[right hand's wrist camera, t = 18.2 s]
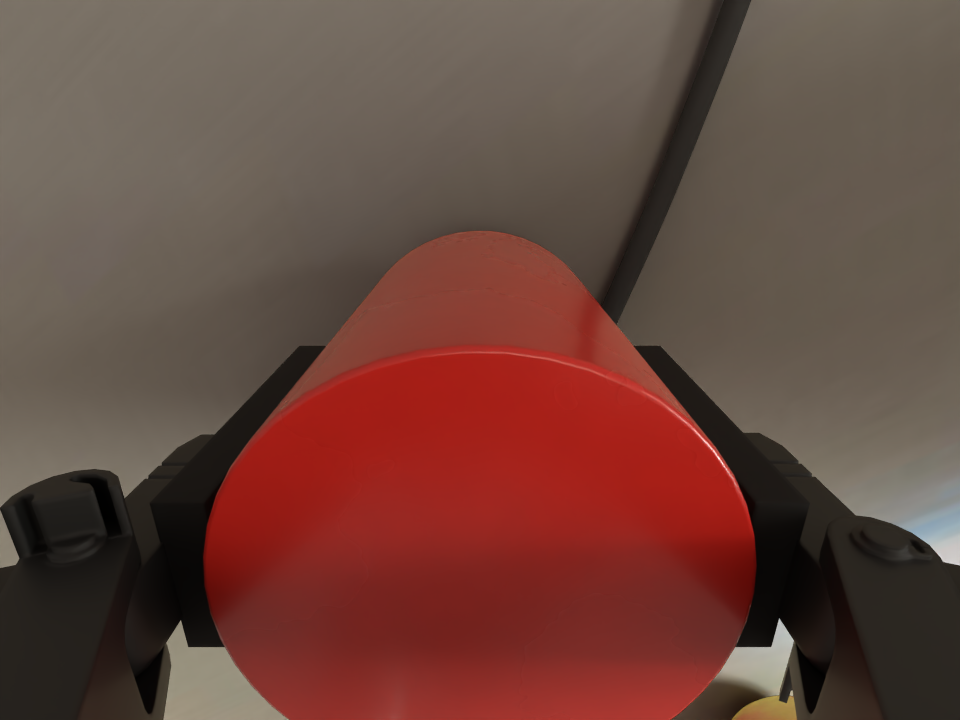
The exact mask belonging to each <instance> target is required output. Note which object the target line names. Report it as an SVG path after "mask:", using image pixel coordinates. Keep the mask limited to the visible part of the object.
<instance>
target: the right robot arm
mask: <svg viewBox="0 0 960 720" xmlns="http://www.w3.org/2000/svg"><path fill="white" fill-rule="evenodd" d="M750 2H751V0H724V1H723V4H722V7H721V9H720V12H719V15H718V18H717V21H716V24H715V26H714V29H713V32H712V35H711V37H710V40H709V43H708V46H707V48H706V51H705V54H704V57H703V59H702V62H701V65H700V67H699V70H698V73H697V75H696V78H695V81H694V83H693V86H692V89H691V91H690V94H689V96H688V99H687V102H686V104H685V107H684V110H683V112H682V115H681V117H680V120H679V123H678V125H677V128H676V130H675V133H674V136H673V138H672V141H671V144H670V146H669V149H668V151H667V154H666V156H665V159H664V162H663V164H662V167H661V169H660V172H659V174H658V177H657V179H656V182H655V184H654V187H653V189H652V192H651V194H650V197H649V199H648V201H647V204H646V206H645V209H644V211H643V213H642V216H641V218H640V221H639V223H638V225H637V228H636V230H635V232H634V235H633V237H632V239H631V242H630V244H629V246H628V248H627V251H626V253H625V255H624V258H623V260H622V262H621V264H620V267H619V269H618V271H617V273H616V276H615V278H614V280H613V282H612V285H611V287H610V289H609V291H608V294H607V296H606V298H605V300H604V303H603V305H602V308H603V310H604V311H605V312H606V313H607V314H608V316H609V317H610V318H611V319H612V321H613V322H614V323H615V324H617V322H618V320H619V318H620V315H621V313H622V311H623V309H624V307H625V305H626V302H627V300H628V298H629V296H630V294H631V292H632V289H633V287H634V285H635V283H636V281H637V279H638V276H639V274H640V272H641V270H642V268H643V266H644V263H645V261H646V259H647V257H648V255H649V252H650V250H651V248H652V246H653V243H654V241H655V239H656V237H657V235H658V232H659V230H660V228H661V225H662V223H663V221H664V219H665V216H666V214H667V212H668V209H669V207H670V205H671V202H672V200H673V198H674V195H675V193H676V190H677V188H678V186H679V183H680V181H681V178H682V176H683V174H684V171H685V169H686V166H687V164H688V161H689V159H690V156H691V154H692V151H693V149H694V146H695V144H696V141H697V139H698V136H699V134H700V131H701V129H702V126H703V124H704V121H705V119H706V116H707V114H708V111H709V109H710V106H711V104H712V101H713V99H714V96H715V94H716V91H717V89H718V86H719V84H720V81H721V78H722V76H723V73H724V71H725V68H726V66H727V63H728V61H729V58H730V55H731V53H732V50H733V47H734V45H735V42H736V40H737V37H738V34H739V32H740V29H741V26H742V24H743V21H744V18H745V15H746V13H747V10H748V7H749V4H750ZM325 347H326V346H299V347H298V348H297V349H296V350H295V351H294V352H293V353H292V354H291V356H290V357H289V358H288V359H287V360H286V361H285V362H284V363H283V364H282V365H281V366H280V367H279V368H278V369H277V370H276V371H275V372H274V373H273V374H272V375H271V376H270V377H269V379H268V380H267V381H266V382H265V383H264V384H263V385H262V386H261V387H260V388H259V389H258V390H257V391H256V392H255V393H254V394H253V395H252V396H251V397H250V398H249V399H248V401H247V402H246V403H245V404H244V405H243V406H242V407H241V408H240V409H239V410H238V411H237V412H236V413H235V414H234V415H233V416H232V417H231V418H230V419H229V420H228V421H227V423H226V424H225V425H224V426H223V427H222V428H221V429H220V430H219V431H218V432H217V433H216V434H215V435H200V436H198V437H196V438H194V439H192V440H191V441H189V442H187V443H185V444H183V445H182V446H180V447H178V448H177V449H176V450H175V451H174V452H173V453H172V454H171V455H169V456H168V457H167V458H166V459H165V460H164V461H163V462H162V466H158V467H157V468H156V469H155V470H154V471H153V472H152V473H151V474H150V475H149V477H148V479H144V480H143V481H142V482H141V483H140V484H139V485H138V486H137V487H136V488H135V489H134V490H133V491H132V492H131V493H130V494H129V495H128V496H127V497H126V498H125V499H124V495H123V492H122V489H121V485H120V482H119V478H118V476H116V475H115V474H113V473H112V472H110V471H105V470H97V469H91V470H81V471H73V472H69V473H65V474H61V475H57V476H53V477H51V478H48V479H45V480H43V481H40V482H38V483H35V484H33V485H30V486H29V487H27V488H25V489H24V490H22V491H20V492H19V493H17V494H15V495H13V496H12V497H11V498H10V499H9V500H8V501H7V502H5V503H4V504H3V505H2V506H1V507H0V510H1V513H2V515H3V518H4V520H5V523H6V525H7V528H8V530H9V533H10V535H11V538H12V540H13V543H14V546H15V548H16V551H17V553H18V556H19V558H20V559H19V561H18V563H17V564H16V565H14V566H9V567H4V568H0V720H163V718H164V711H165V704H166V698H167V691H168V684H169V677H170V670H171V661H170V654H169V651H168V647H167V644H166V642H167V640H168V639H169V637H170V636H171V634H172V633H173V631H174V630H175V628H176V627H177V625H178V623H179V622H180V620H181V622H182V625H183V629H184V633H185V636H186V640H187V644H188V647H225V646H224V645H223V643H222V641H221V639H220V637H219V634H218V631H217V629H216V626H215V624H214V621H213V619H212V616H211V614H210V609H209V604H208V600H207V595H206V591H205V586H204V565H203V554H204V545H205V537H206V529H207V523H208V520H209V517H210V513H211V510H212V507H213V503H214V500H215V497H216V494H217V492H218V490H219V488H220V486H221V484H222V482H223V480H224V478H225V476H226V474H227V472H228V470H229V468H230V467H231V465H232V464H233V462H234V461H235V460H236V458H237V457H238V456H239V454H240V453H241V451H242V450H243V449H244V447H245V446H246V445H247V443H248V442H249V440H250V439H251V438H252V437H253V435H254V434H255V433H256V432H257V430H258V429H259V428H260V427H261V426H262V424H263V423H264V422H265V421H266V419H267V418H268V417H269V416H270V415H271V413H272V412H273V411H274V410H275V408H276V407H277V406H278V405H279V404H280V402H281V401H282V400H283V399H284V397H285V396H286V395H287V394H288V393H289V391H290V390H291V389H292V388H293V386H294V385H295V384H296V383H297V382H298V380H299V379H300V378H301V377H302V375H303V374H304V373H305V372H306V370H307V369H308V368H309V367H310V366H311V364H312V363H313V362H314V361H315V359H316V358H317V357H318V356H319V355H320V353H321V352H322V351H323V350H324V348H325ZM634 348H635V349H636V350H637V351H638V352H639V354H640V355H641V356H642V357H643V359H644V360H645V361H646V362H647V364H648V365H649V366H650V367H651V368H652V370H653V371H654V372H655V373H656V375H657V376H658V377H659V378H660V379H661V381H662V382H663V383H664V384H665V386H666V387H667V388H668V389H669V390H670V392H671V393H672V394H673V395H674V397H675V398H676V399H677V400H678V402H679V403H680V404H681V405H682V406H683V408H684V409H685V410H686V411H687V413H688V414H689V415H690V416H691V417H692V419H693V420H694V421H695V422H696V424H697V425H698V426H699V427H700V429H701V430H702V431H703V432H704V433H705V435H706V436H707V437H708V438H709V440H710V441H711V442H712V443H713V444H714V446H715V447H716V448H717V450H718V451H719V453H720V454H721V456H722V458H723V459H724V461H725V462H726V464H727V465H728V467H729V468H730V470H731V471H732V473H733V474H734V476H735V478H736V481H737V483H738V485H739V487H740V490H741V492H742V494H743V496H744V499H745V501H746V503H747V507H748V511H749V515H750V519H751V523H752V527H753V531H754V538H755V551H756V565H757V566H756V577H755V587H754V595H753V599H752V603H751V607H750V610H749V614H748V618H747V621H746V624H745V626H744V628H743V631H742V633H741V635H740V637H739V640H738V642H737V644H736V646H735V647H771V646H772V642H773V639H774V635H775V631H776V627H777V624H778V620H779V618H780V620H781V621H782V623H783V624H784V626H785V627H786V629H787V630H788V632H789V633H790V635H791V637H792V638H793V640H794V644H793V647H792V651H791V654H790V658H789V661H788V664H787V668H786V671H785V675H784V678H783V682H782V685H781V689H780V695H779V701H781V702H784V703H787V701H788V698H789V694H790V691H791V690H793V696H794V703H795V710H796V717H797V720H960V566H959V565H954V564H949V563H944V562H943V561H942V560H941V558H940V557H939V556H938V554H937V553H936V552H935V551H934V550H933V549H932V548H931V546H930V545H929V544H927V543H926V542H924V541H923V540H921V539H920V538H918V537H917V536H916V535H914V534H913V533H911V532H909V531H906V530H904V529H902V528H900V527H898V526H896V525H894V524H891V523H888V522H885V521H881V520H878V519H874V518H871V517H863V516H856V515H854V514H853V513H852V512H851V511H850V510H849V509H848V508H847V507H846V506H845V505H844V504H843V503H842V502H841V501H840V500H839V499H838V498H837V497H836V496H835V495H834V494H832V493H831V492H830V491H829V490H828V489H827V488H826V487H825V486H824V485H823V484H822V483H821V482H820V481H819V480H818V479H817V478H816V477H812V474H811V473H810V472H809V471H808V470H807V469H806V468H805V467H804V466H803V465H802V464H798V460H797V459H796V458H795V457H794V456H793V455H792V454H790V453H789V452H788V451H787V450H786V449H785V448H784V447H783V446H782V445H780V444H778V443H776V442H775V441H773V440H771V439H769V438H767V437H765V436H764V435H762V434H760V433H743V432H742V431H741V430H740V429H739V428H738V427H737V426H736V425H735V424H734V423H733V422H732V421H731V420H730V419H729V418H728V417H727V416H726V415H725V413H724V412H723V411H722V410H721V409H720V408H719V407H718V406H717V405H716V404H715V403H714V402H713V401H712V400H711V399H710V398H709V397H708V396H707V395H706V394H705V393H704V391H703V390H702V389H701V388H700V387H699V386H698V385H697V384H696V383H695V382H694V381H693V380H692V379H691V378H690V377H689V376H688V375H687V374H686V373H685V372H684V371H683V370H682V368H681V367H680V366H679V365H678V364H677V363H676V362H675V361H674V360H673V359H672V358H671V357H670V356H669V355H668V354H667V353H666V352H665V351H664V350H663V349H662V348H661V346H634Z"/></svg>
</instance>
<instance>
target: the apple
mask: <svg viewBox="0 0 960 720" xmlns="http://www.w3.org/2000/svg"><path fill="white" fill-rule="evenodd" d="M731 720H797V717H796V710H795V703H794V697H793V696H789V698H788V701H787V703H784V702H781V701H779V696H771V697H767V698H763V699H760V700H757V701H754V702H752V703H750V704H748V705H746V706H745V707H743V708H742V709H741V710H740V711H739V712H738V713H737V714H736V715H735V716H734V717H733V718H732V719H731Z"/></svg>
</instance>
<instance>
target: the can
mask: <svg viewBox="0 0 960 720" xmlns="http://www.w3.org/2000/svg"><path fill="white" fill-rule="evenodd" d="M203 565H204V586H205V591H206V595H207V600H208V604H209V609H210V614H211V616H212V619H213V621H214V624H215V626H216V629H217V631H218V634H219V637H220V639H221V641H222V643H223V645H224V646H225V648H226V650H227V652H228V653H229V655H230V657H231V659H232V660H233V662H234V664H235V665H236V666H237V668H238V669H239V670H240V672H241V673H242V674H243V675H244V677H245V678H246V679H247V681H248V682H249V683H250V685H251V686H252V687H253V688H254V689H255V690H256V691H257V692H258V693H259V694H260V695H261V696H262V697H263V698H264V699H265V700H266V701H267V702H268V703H269V704H270V705H271V706H272V707H273V708H275V709H276V710H277V711H278V712H280V713H281V714H282V715H283V716H285V717H286V718H287V719H289V720H671V719H672V718H674V717H675V716H676V715H678V714H679V713H680V712H682V711H683V710H684V709H685V708H686V707H687V706H688V705H689V704H690V703H691V702H692V701H694V700H695V699H696V698H697V697H698V696H699V695H700V694H701V693H702V692H703V691H704V690H705V688H706V687H707V686H708V685H709V684H710V682H711V681H712V680H713V679H714V678H715V676H716V675H717V674H718V673H719V672H720V670H721V669H722V667H723V666H724V664H725V662H726V661H727V659H728V658H729V656H730V654H731V653H732V651H733V650H734V648H735V646H736V644H737V642H738V640H739V637H740V635H741V633H742V631H743V628H744V626H745V624H746V621H747V618H748V614H749V610H750V607H751V603H752V599H753V595H754V587H755V577H756V566H757V565H756V551H755V538H754V531H753V527H752V523H751V519H750V515H749V511H748V507H747V503H746V501H745V499H744V496H743V494H742V492H741V490H740V487H739V485H738V483H737V481H736V478H735V476H734V474H733V473H732V471H731V470H730V468H729V467H728V465H727V464H726V462H725V461H724V459H723V458H722V456H721V454H720V453H719V451H718V450H717V448H716V447H715V446H714V444H713V443H712V442H711V441H710V440H709V438H708V437H707V436H706V435H705V433H704V432H703V431H702V430H701V429H700V427H699V426H698V425H697V424H696V422H695V421H694V420H693V419H692V417H691V416H690V415H689V414H688V413H687V411H686V410H685V409H684V408H683V406H682V405H681V404H680V403H679V402H678V400H677V399H676V398H675V397H674V395H673V394H672V393H671V392H670V390H669V389H668V388H667V387H666V386H665V384H664V383H663V382H662V381H661V379H660V378H659V377H658V376H657V375H656V373H655V372H654V371H653V370H652V368H651V367H650V366H649V365H648V364H647V362H646V361H645V360H644V359H643V357H642V356H641V355H640V354H639V352H638V351H637V350H636V349H635V348H634V346H633V345H632V344H631V343H630V341H629V340H628V339H627V338H626V337H625V335H624V334H623V333H622V332H621V330H620V329H619V328H618V327H617V325H616V324H615V323H614V322H613V321H612V319H611V318H610V317H609V316H608V314H607V313H606V312H605V311H604V310H603V308H602V307H601V306H600V305H599V303H598V302H597V301H596V300H595V298H594V297H593V296H592V295H591V294H590V292H589V291H588V290H587V289H586V287H585V286H584V285H583V284H582V283H581V281H580V280H579V279H578V278H577V276H576V275H575V274H574V273H573V272H572V271H571V270H570V269H569V268H568V266H567V265H566V264H565V263H563V262H562V261H561V260H560V259H559V258H557V257H556V256H555V255H554V254H552V253H551V252H549V251H548V250H546V249H544V248H543V247H541V246H540V245H537V244H535V243H533V242H531V241H529V240H526V239H524V238H521V237H517V236H514V235H511V234H507V233H500V232H494V231H467V232H458V233H454V234H450V235H446V236H442V237H439V238H436V239H434V240H431V241H429V242H426V243H424V244H422V245H421V246H419V247H417V248H415V249H414V250H412V251H410V252H409V253H408V254H406V255H405V256H404V257H403V258H401V259H400V260H399V261H397V262H396V263H395V264H394V265H393V266H392V268H391V269H390V270H389V271H388V272H387V273H386V274H385V275H384V276H383V277H382V279H381V280H380V281H379V282H378V284H377V285H376V286H375V287H374V288H373V290H372V291H371V292H370V293H369V295H368V296H367V297H366V298H365V299H364V301H363V302H362V303H361V304H360V306H359V307H358V308H357V309H356V311H355V312H354V313H353V314H352V315H351V317H350V318H349V319H348V320H347V322H346V323H345V324H344V325H343V326H342V328H341V329H340V330H339V331H338V333H337V334H336V335H335V336H334V337H333V339H332V340H331V341H330V342H329V344H328V345H327V346H326V347H325V348H324V350H323V351H322V352H321V353H320V355H319V356H318V357H317V358H316V359H315V361H314V362H313V363H312V364H311V366H310V367H309V368H308V369H307V370H306V372H305V373H304V374H303V375H302V377H301V378H300V379H299V380H298V382H297V383H296V384H295V385H294V386H293V388H292V389H291V390H290V391H289V393H288V394H287V395H286V396H285V397H284V399H283V400H282V401H281V402H280V404H279V405H278V406H277V407H276V408H275V410H274V411H273V412H272V413H271V415H270V416H269V417H268V418H267V419H266V421H265V422H264V423H263V424H262V426H261V427H260V428H259V429H258V430H257V432H256V433H255V434H254V435H253V437H252V438H251V439H250V440H249V442H248V443H247V445H246V446H245V447H244V449H243V450H242V451H241V453H240V454H239V456H238V457H237V458H236V460H235V461H234V462H233V464H232V465H231V467H230V468H229V470H228V472H227V474H226V476H225V478H224V480H223V482H222V484H221V486H220V488H219V490H218V492H217V494H216V497H215V500H214V503H213V507H212V510H211V513H210V517H209V520H208V523H207V529H206V537H205V545H204V554H203Z"/></svg>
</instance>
